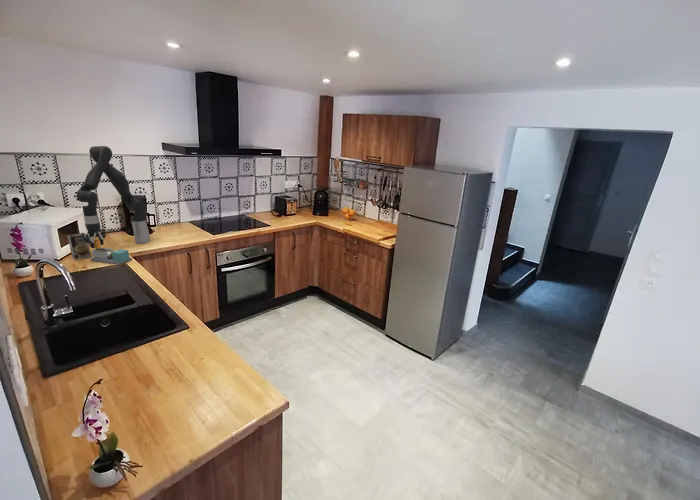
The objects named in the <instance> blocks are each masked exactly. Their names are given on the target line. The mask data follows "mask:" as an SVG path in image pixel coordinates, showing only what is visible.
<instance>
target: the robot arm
mask: <svg viewBox="0 0 700 500" xmlns="http://www.w3.org/2000/svg"><path fill="white" fill-rule="evenodd" d="M89 155H90V157H91V159H92V160H93V161H94V162H95V165H94V166H93V167H92V168H91V169H90V170H89V171H88V173H87V174H86V177H85V179H84V182H83V184H82V185H81V187H80V188H79V189H78V191H77V192H76V195H75V196H76V200H77V201H78V202H81V203H87V205H83V207H82V213H83V218H84V219H83V220H84V224H85V229H86V230H87V233H85V234H83V236H84V239H85V241H86V243H89V248H91V249H95V246H94V243H93V242H94V240H96V238H98V240H100V244H101V246H104V239H105V238H106V236H107V235H106V229H105V228H101V227H102V226H101V223H100V218H99V214H98V210H97V204H98V195H97V194H96V192H95V190H97V189H98V186H99V184H100V181H101V178H102V176H103V174H105V176H106V177H107V179H108V180H109V182H110V183H111V185H112V186H113V187H114V189H115V190H116V191H117V193H118V194H119V196H120V197H121V200H123V202H124V205H125V206H126V208H127V209H128V210H130V211H131V212H134V215H132V216H131V224H132V230H133V231H132V232H133V237H134V242H135V244H138V245H139V244H148V243H149V242H150V241H151V237H150V231H149V228H148V225H147V218H146V217H147V207H146V203H145V201H144V200H142V199H138V198H135V196H133V194H132V193H131V191H130V185H129V181H128V179H127V178H126V177H125V175H124V174H123V173H122V172H121V171H120V170H118V169H117V168H116V167H114V166H113V165H112V164H111V163H110V161H111V160H112V158H113V150H112V149H111V148H110V147H109V146H107V145H96V146H92V147H89Z"/></svg>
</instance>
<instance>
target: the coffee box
mask: <svg viewBox="0 0 700 500" xmlns="http://www.w3.org/2000/svg"><path fill="white" fill-rule="evenodd" d="M83 234H86V233H85V232H79V233H74V234H68V235H66V236H67V239H68V245H69V247H70V248H69V249H70V253H71V258H72V259H73V260H74V261H80V260H83V259H89V258H92V251H91V249H90V248H91V247H90V243H86V241H85V239H84V236H83Z"/></svg>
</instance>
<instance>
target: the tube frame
mask: <svg viewBox="0 0 700 500" xmlns="http://www.w3.org/2000/svg"><path fill="white" fill-rule="evenodd" d="M100 249H101V250H96V249H95V248H92V249H91V255H92V257H91V258H90V262H93V261H94V262H95V263H100V262H101V263H102V264H106V263H108V264H109V265H113V264H117V265H116V266H121V265H120V264H122V265H124V264H126V263H129V262H130V261H132V260H133V258H132V257H130V254H129V250H128V249H123V248H120V249H117V250H114V249H113V248H107V247H102V246H101V248H100ZM108 251H109V252H112V256H113V258H112V257H108V255H107V252H108ZM123 263H124V264H123Z"/></svg>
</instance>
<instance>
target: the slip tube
mask: <svg viewBox="0 0 700 500" xmlns="http://www.w3.org/2000/svg"><path fill="white" fill-rule="evenodd" d="M93 243H94V246H95V248H94V249H96V250H101V249H100V248H101V247H102V245H101V244H100V240H99V239H94V242H93ZM107 255H108V257H112V258H113V256H112V252H109V251H108V252H107Z"/></svg>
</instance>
